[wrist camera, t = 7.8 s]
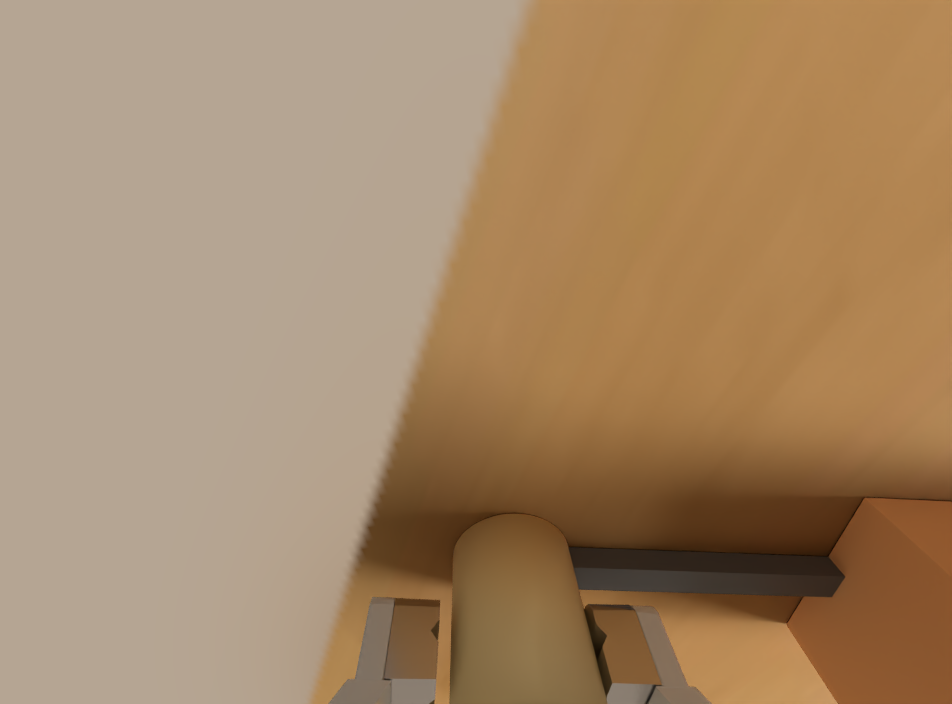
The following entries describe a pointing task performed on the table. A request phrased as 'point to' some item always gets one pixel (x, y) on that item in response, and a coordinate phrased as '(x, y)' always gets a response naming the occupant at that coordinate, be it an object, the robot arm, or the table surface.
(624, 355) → the table surface
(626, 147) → the table surface
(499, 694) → the tan block and knob
